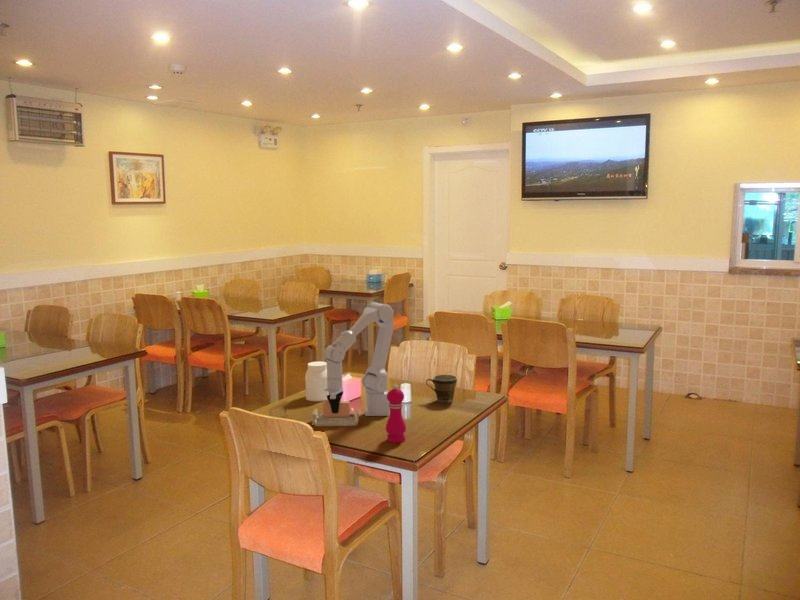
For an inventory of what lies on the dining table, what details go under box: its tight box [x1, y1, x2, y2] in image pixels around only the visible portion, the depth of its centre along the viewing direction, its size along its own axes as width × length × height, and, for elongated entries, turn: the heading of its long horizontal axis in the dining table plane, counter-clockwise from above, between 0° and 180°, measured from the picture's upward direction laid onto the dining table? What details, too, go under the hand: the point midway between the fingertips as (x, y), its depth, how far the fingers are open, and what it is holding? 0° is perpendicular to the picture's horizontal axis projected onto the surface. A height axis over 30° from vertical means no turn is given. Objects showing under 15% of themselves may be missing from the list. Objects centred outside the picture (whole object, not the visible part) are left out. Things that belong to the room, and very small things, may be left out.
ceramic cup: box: [425, 374, 458, 404], centre depth 274 cm, size 13×10×10 cm
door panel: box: [322, 400, 351, 418], centre depth 248 cm, size 10×2×7 cm, turn 89°
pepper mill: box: [385, 384, 407, 444], centre depth 228 cm, size 7×7×20 cm
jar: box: [304, 360, 328, 402], centre depth 281 cm, size 12×10×15 cm
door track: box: [311, 407, 360, 427], centre depth 248 cm, size 17×8×4 cm, turn 89°
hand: (335, 411), depth 248 cm, fingers closed on door panel, 2 cm apart
